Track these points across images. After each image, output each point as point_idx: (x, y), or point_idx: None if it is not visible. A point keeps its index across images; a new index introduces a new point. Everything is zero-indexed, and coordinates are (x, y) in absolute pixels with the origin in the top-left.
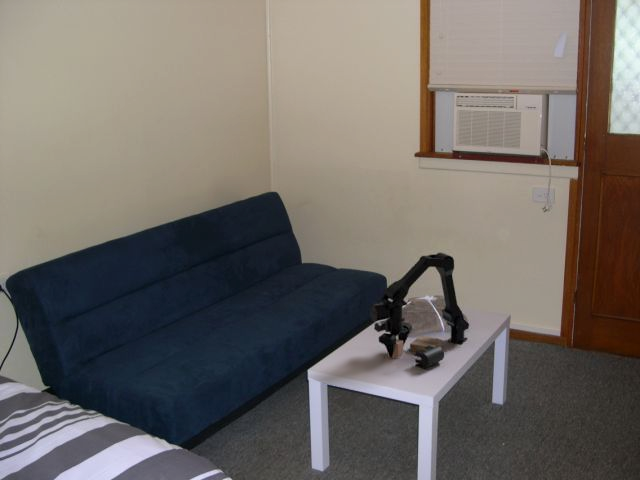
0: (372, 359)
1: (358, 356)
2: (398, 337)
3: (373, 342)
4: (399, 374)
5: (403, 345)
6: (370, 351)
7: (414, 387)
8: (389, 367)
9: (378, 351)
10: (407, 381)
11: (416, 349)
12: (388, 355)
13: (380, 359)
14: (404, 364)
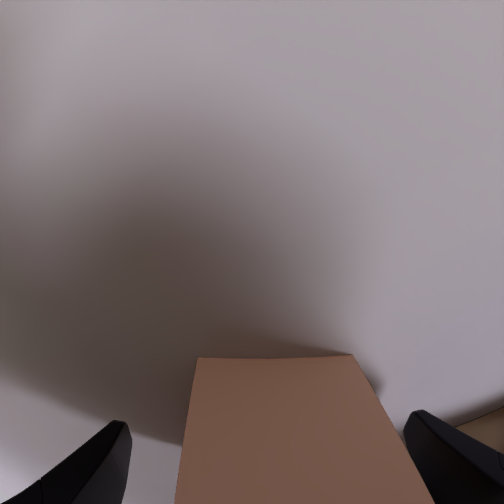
0: (4, 214)
1: (25, 17)
2: (501, 492)
3: (491, 15)
4: (11, 470)
5: (421, 468)
6: (235, 27)
7: (4, 500)
8: (11, 422)
9: (296, 139)
10: (6, 489)
11: None
12: (196, 365)
13: (52, 307)
14: (126, 494)
